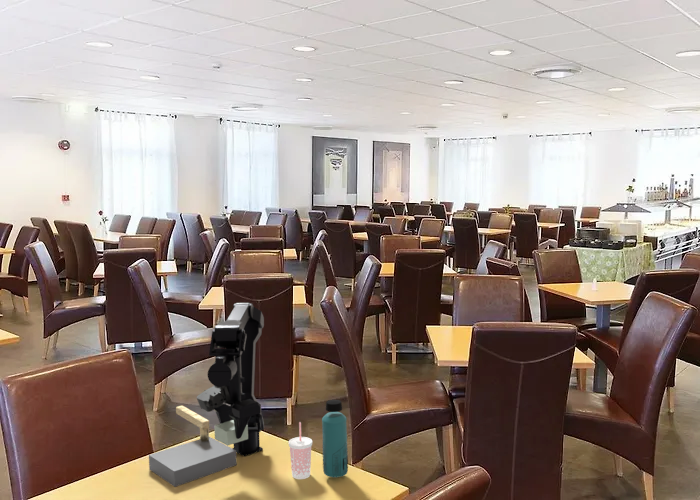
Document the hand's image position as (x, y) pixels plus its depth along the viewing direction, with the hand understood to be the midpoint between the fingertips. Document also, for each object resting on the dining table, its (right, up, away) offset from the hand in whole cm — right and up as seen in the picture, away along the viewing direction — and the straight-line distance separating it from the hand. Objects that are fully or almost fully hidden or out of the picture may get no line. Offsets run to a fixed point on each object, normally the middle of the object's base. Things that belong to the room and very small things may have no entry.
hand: (231, 434), depth 160 cm
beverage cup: (+17, -12, +3) cm, 21 cm away
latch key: (-15, -6, +22) cm, 28 cm away
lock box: (-12, -11, +9) cm, 19 cm away
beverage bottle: (+26, -12, +2) cm, 29 cm away
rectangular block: (0, -1, 0) cm, 1 cm away
